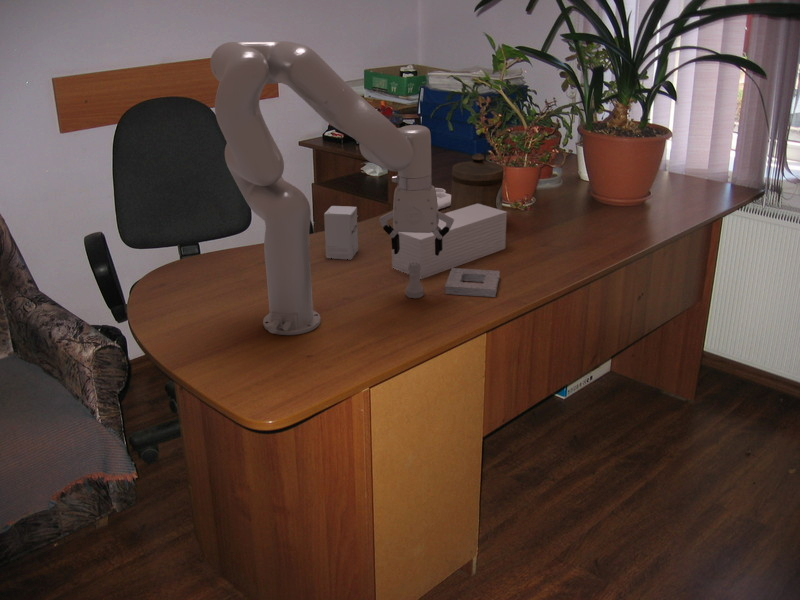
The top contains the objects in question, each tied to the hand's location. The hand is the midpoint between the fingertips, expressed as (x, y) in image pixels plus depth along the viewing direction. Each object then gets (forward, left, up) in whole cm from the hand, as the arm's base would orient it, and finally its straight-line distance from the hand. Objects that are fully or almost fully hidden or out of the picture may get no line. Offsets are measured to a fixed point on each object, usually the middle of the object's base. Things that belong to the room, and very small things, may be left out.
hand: (417, 252), depth 192 cm
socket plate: (+7, -12, -11) cm, 18 cm away
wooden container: (+51, -8, -11) cm, 53 cm away
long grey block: (+26, -4, -11) cm, 28 cm away
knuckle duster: (+72, +9, -11) cm, 74 cm away
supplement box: (+23, +25, -11) cm, 36 cm away
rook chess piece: (-1, +1, -11) cm, 11 cm away
